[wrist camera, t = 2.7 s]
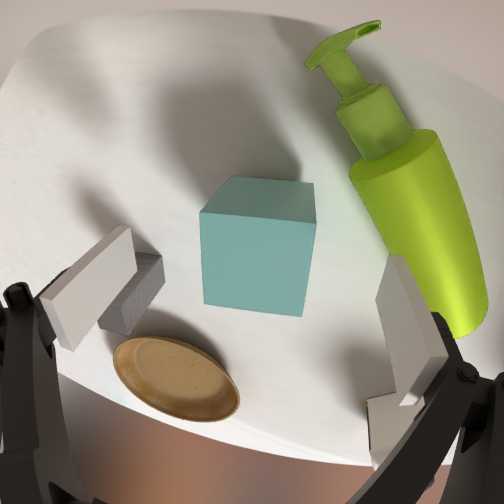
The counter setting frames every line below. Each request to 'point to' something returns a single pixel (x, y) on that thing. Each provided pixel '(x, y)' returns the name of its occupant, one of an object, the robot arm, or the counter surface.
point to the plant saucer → (176, 378)
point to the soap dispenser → (407, 188)
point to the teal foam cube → (258, 245)
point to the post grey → (134, 295)
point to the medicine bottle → (388, 425)
